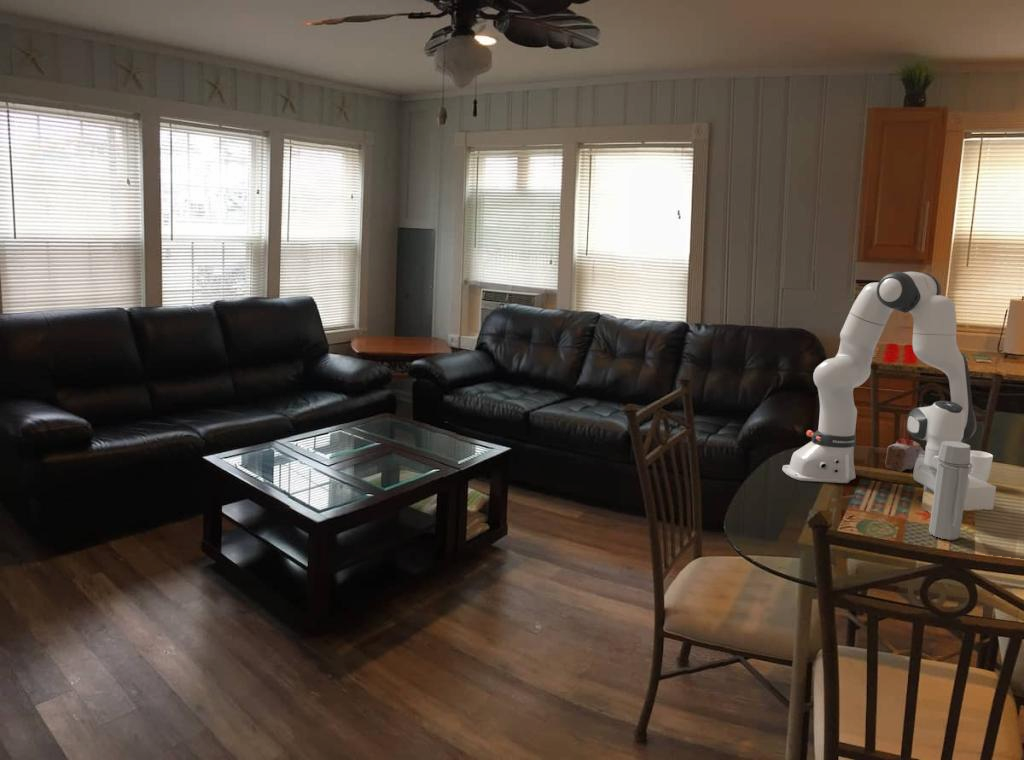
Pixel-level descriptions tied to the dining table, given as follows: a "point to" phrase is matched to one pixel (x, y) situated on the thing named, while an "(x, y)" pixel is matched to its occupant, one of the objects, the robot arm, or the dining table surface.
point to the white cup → (980, 464)
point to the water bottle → (950, 490)
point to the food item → (902, 455)
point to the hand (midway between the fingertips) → (935, 505)
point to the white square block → (979, 495)
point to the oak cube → (927, 501)
